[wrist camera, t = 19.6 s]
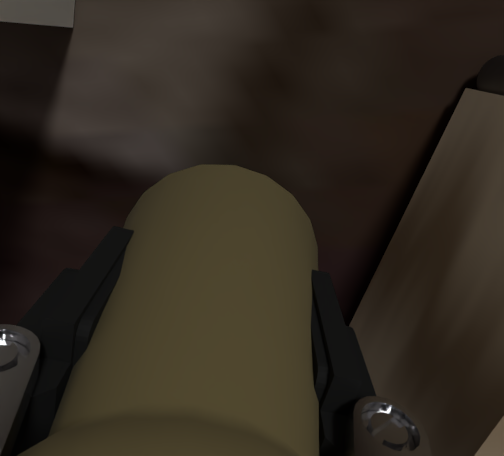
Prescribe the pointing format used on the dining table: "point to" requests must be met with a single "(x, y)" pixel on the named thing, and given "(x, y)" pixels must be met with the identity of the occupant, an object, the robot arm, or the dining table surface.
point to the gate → (447, 286)
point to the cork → (201, 329)
